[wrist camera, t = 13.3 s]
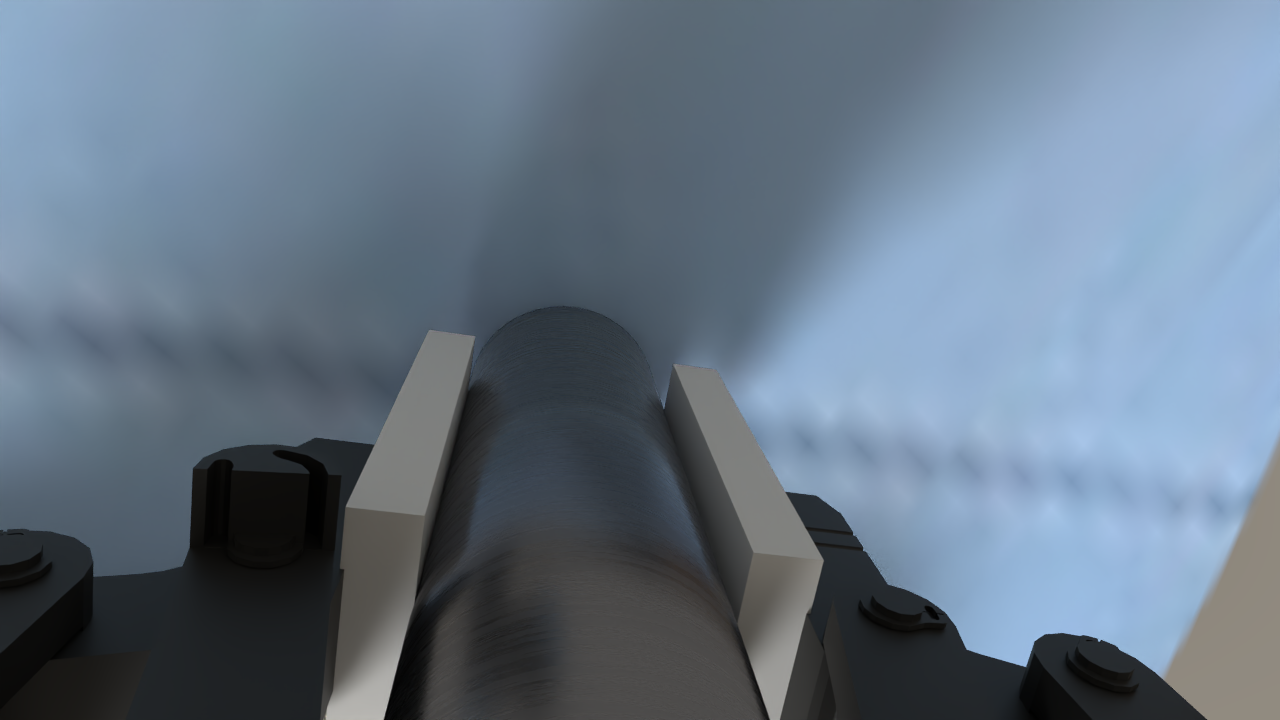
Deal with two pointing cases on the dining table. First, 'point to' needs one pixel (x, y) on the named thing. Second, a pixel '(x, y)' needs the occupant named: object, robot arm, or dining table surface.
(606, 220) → the dining table surface
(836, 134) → the dining table surface
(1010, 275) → the dining table surface
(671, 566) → the round pin
